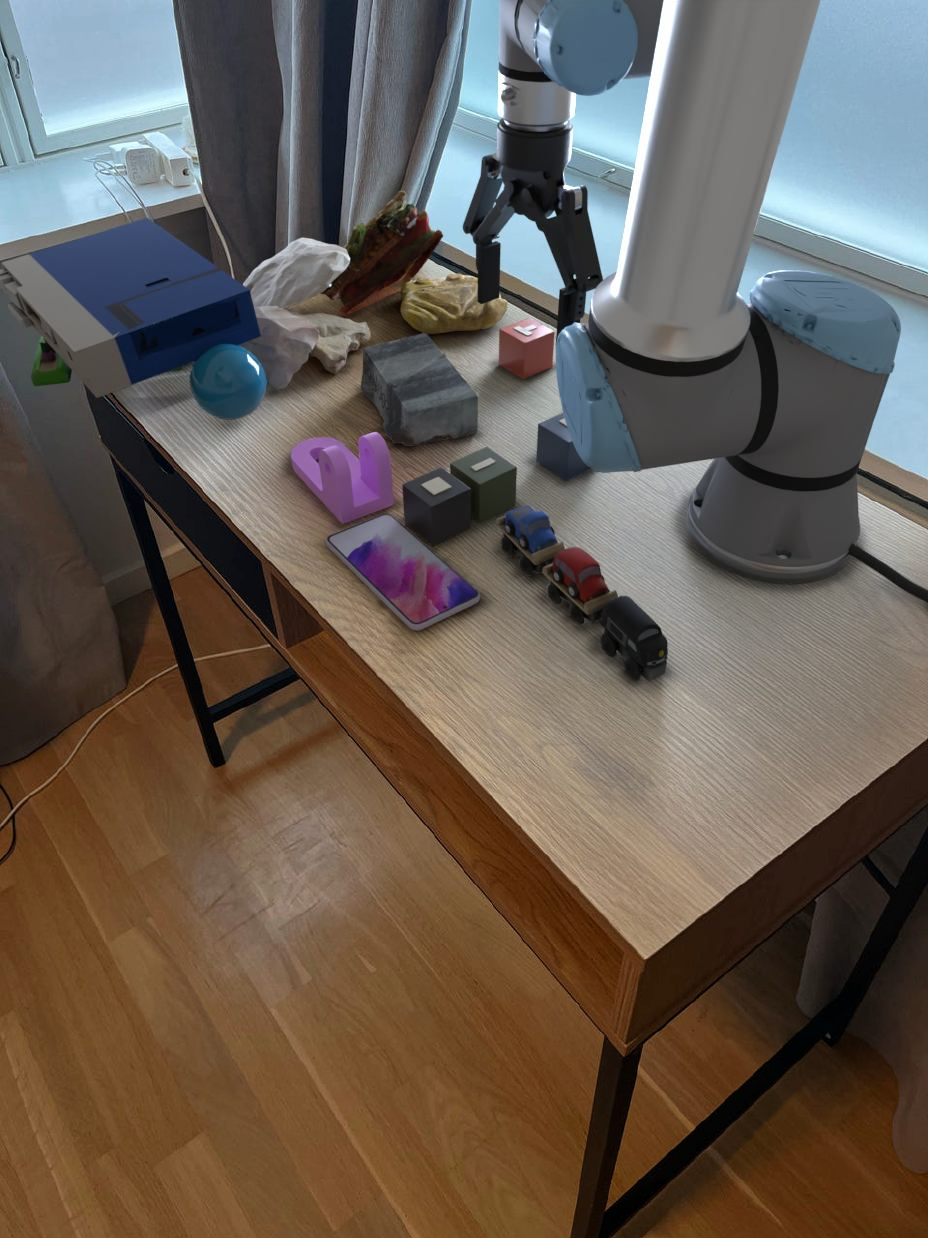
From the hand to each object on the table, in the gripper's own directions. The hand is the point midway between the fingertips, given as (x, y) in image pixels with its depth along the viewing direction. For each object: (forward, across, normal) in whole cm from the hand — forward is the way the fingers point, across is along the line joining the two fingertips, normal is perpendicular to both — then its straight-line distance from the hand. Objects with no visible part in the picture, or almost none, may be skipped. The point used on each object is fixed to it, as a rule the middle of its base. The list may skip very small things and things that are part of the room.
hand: (526, 321), depth 110 cm
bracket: (+5, +6, -30) cm, 31 cm away
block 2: (+5, +18, -21) cm, 29 cm away
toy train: (+5, +34, -24) cm, 42 cm away
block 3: (+5, +18, -10) cm, 22 cm away
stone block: (+5, +1, -16) cm, 17 cm away
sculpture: (+4, -9, -2) cm, 10 cm away
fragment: (+2, -27, -13) cm, 30 cm away
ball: (+3, -13, -35) cm, 38 cm away
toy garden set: (+6, -34, -33) cm, 48 cm away
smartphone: (+5, +22, -33) cm, 40 cm away
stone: (+6, -18, -15) cm, 24 cm away
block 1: (+5, +18, -27) cm, 33 cm away
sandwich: (+2, -22, -2) cm, 22 cm away
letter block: (+5, 0, 0) cm, 5 cm away
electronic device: (-4, -13, -37) cm, 39 cm away
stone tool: (+2, -12, -22) cm, 25 cm away
